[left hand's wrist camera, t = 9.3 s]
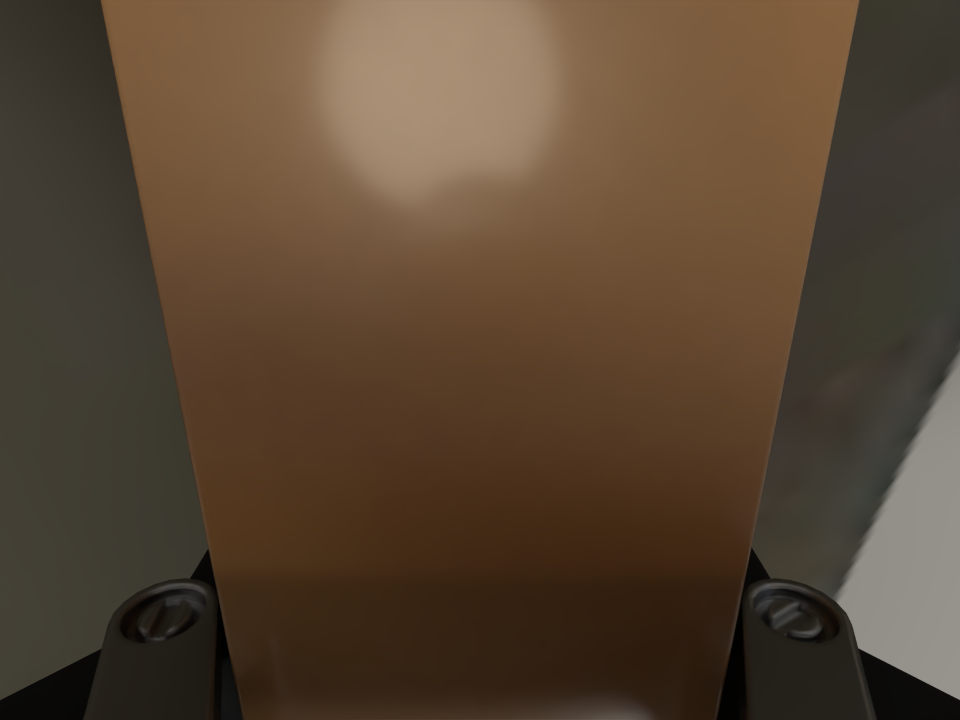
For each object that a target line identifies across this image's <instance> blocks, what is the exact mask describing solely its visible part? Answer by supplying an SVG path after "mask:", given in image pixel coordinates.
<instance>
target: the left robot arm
mask: <svg viewBox="0 0 960 720" xmlns="http://www.w3.org/2000/svg"><path fill="white" fill-rule="evenodd" d="M0 720H242V715H241V710H240V705H239V700H238V695H237V690H236V685H235V680H234V675H233V670H232V664H231V659H230V654H229V649H228V644H227V639H226V634H225V629H224V624H223V619H222V614H221V609H220V604H219V598H218V593H217V588H216V583H215V578H214V573H213V568H212V563H211V558H210V553H209V548H208V550H207V552H206V553H205V555H204V557H203V558H202V560H201V562H200V563H199V565H198V567H197V568H196V570H195V571H194V573H193V575H192V576H191V578H190V579H186V578H184V579H175V580H168V581H164V582H161V583H158V584H154V585H152V586H150V587H148V588H145V589H143V590H141V591H139V592H137V593H136V594H134V595H133V596H132V597H130V598H129V599H127V600H126V601H125V602H123V604H122V605H121V606H120V607H119V608H118V609H117V610H116V611H115V612H114V614H113V616H112V618H111V620H110V622H109V624H108V627H107V631H106V634H105V638H104V642H103V646H102V649H100V650H98V651H96V652H94V653H92V654H90V655H88V656H86V657H84V658H82V659H80V660H78V661H77V662H75V663H73V664H71V665H69V666H67V667H65V668H63V669H61V670H59V671H57V672H55V673H53V674H51V675H49V676H47V677H45V678H43V679H41V680H39V681H37V682H35V683H33V684H31V685H29V686H27V687H25V688H23V689H22V690H20V691H18V692H16V693H14V694H12V695H10V696H8V697H6V698H4V699H2V700H0ZM717 720H960V700H959V699H957V698H955V697H953V696H951V695H949V694H947V693H945V692H943V691H941V690H939V689H937V688H935V687H933V686H931V685H929V684H927V683H925V682H923V681H921V680H919V679H917V678H915V677H913V676H911V675H910V674H908V673H906V672H904V671H902V670H900V669H898V668H896V667H894V666H892V665H890V664H888V663H886V662H884V661H882V660H880V659H878V658H876V657H874V656H872V655H870V654H868V653H866V652H864V651H862V650H860V649H859V648H858V646H857V642H856V638H855V635H854V631H853V627H852V624H851V622H850V620H849V618H848V616H847V614H846V612H845V611H844V610H843V609H842V608H841V607H840V606H839V605H838V604H837V602H835V601H834V600H833V599H831V598H830V597H828V596H827V595H826V594H824V593H823V592H821V591H819V590H817V589H815V588H812V587H810V586H808V585H806V584H802V583H799V582H796V581H792V580H785V579H776V578H774V579H770V577H769V575H768V574H767V572H766V570H765V569H764V567H763V565H762V564H761V562H760V560H759V559H758V557H757V555H756V554H755V552H754V551H753V549H752V547H751V551H750V556H749V561H748V566H747V571H746V576H745V581H744V586H743V591H742V596H741V602H740V607H739V612H738V617H737V622H736V627H735V632H734V637H733V642H732V647H731V652H730V657H729V662H728V667H727V672H726V677H725V683H724V688H723V693H722V698H721V703H720V708H719V713H718V718H717Z"/></svg>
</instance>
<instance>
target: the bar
mask: <svg viewBox="0 0 960 720" xmlns="http://www.w3.org/2000/svg"><path fill="white" fill-rule="evenodd" d="M858 4H859V0H101V5H102V10H103V15H104V20H105V25H106V30H107V35H108V40H109V45H110V50H111V55H112V61H113V66H114V71H115V76H116V81H117V86H118V91H119V96H120V101H121V106H122V111H123V116H124V121H125V127H126V132H127V137H128V142H129V147H130V152H131V157H132V162H133V167H134V172H135V177H136V182H137V187H138V192H139V198H140V203H141V208H142V213H143V218H144V223H145V228H146V233H147V238H148V243H149V248H150V253H151V258H152V264H153V269H154V274H155V279H156V284H157V289H158V294H159V299H160V304H161V309H162V314H163V319H164V324H165V330H166V335H167V340H168V345H169V350H170V355H171V360H172V365H173V370H174V375H175V380H176V385H177V390H178V395H179V401H180V406H181V411H182V416H183V421H184V426H185V431H186V436H187V441H188V446H189V451H190V456H191V461H192V467H193V472H194V477H195V482H196V487H197V492H198V497H199V502H200V507H201V512H202V517H203V522H204V527H205V532H206V538H207V543H208V548H209V553H210V558H211V563H212V568H213V573H214V578H215V583H216V588H217V593H218V598H219V604H220V609H221V614H222V619H223V624H224V629H225V634H226V639H227V644H228V649H229V654H230V659H231V664H232V670H233V675H234V680H235V685H236V690H237V695H238V700H239V705H240V710H241V715H242V720H717V718H718V713H719V708H720V703H721V698H722V693H723V688H724V683H725V677H726V672H727V667H728V662H729V657H730V652H731V647H732V642H733V637H734V632H735V627H736V622H737V617H738V612H739V607H740V602H741V596H742V591H743V586H744V581H745V576H746V571H747V566H748V561H749V556H750V551H751V546H752V541H753V536H754V531H755V526H756V521H757V515H758V510H759V505H760V500H761V495H762V490H763V485H764V480H765V475H766V470H767V465H768V460H769V455H770V450H771V445H772V440H773V435H774V429H775V424H776V419H777V414H778V409H779V404H780V399H781V394H782V389H783V384H784V379H785V374H786V369H787V364H788V359H789V354H790V348H791V343H792V338H793V333H794V328H795V323H796V318H797V313H798V308H799V303H800V298H801V293H802V288H803V283H804V278H805V273H806V267H807V262H808V257H809V252H810V247H811V242H812V237H813V232H814V227H815V222H816V217H817V212H818V207H819V202H820V197H821V192H822V186H823V181H824V176H825V171H826V166H827V161H828V156H829V151H830V146H831V141H832V136H833V131H834V126H835V121H836V116H837V111H838V105H839V100H840V95H841V90H842V85H843V80H844V75H845V70H846V65H847V60H848V55H849V50H850V45H851V40H852V35H853V30H854V24H855V19H856V14H857V9H858Z"/></svg>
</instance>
